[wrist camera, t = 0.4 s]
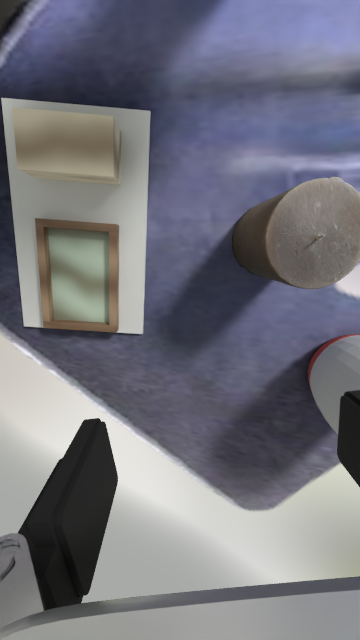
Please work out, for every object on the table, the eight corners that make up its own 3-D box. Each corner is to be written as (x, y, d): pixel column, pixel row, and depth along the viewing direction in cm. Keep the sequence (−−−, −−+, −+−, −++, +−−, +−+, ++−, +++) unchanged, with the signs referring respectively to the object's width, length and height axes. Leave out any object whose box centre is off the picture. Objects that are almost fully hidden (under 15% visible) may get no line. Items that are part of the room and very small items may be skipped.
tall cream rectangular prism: (32, 124, 32) (11, 107, 28) (121, 131, 32) (113, 116, 28) (36, 178, 33) (17, 169, 29) (120, 184, 33) (113, 176, 30)
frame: (40, 219, 35) (34, 218, 33) (119, 225, 35) (116, 224, 33) (48, 324, 39) (43, 327, 37) (118, 329, 39) (116, 332, 37)
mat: (3, 100, 31) (1, 97, 31) (150, 113, 32) (150, 110, 31) (25, 325, 39) (24, 326, 39) (143, 333, 40) (142, 334, 39)
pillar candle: (227, 272, 37) (261, 289, 23) (236, 199, 34) (281, 166, 20) (293, 277, 38) (366, 296, 23) (307, 205, 35) (400, 176, 20)
